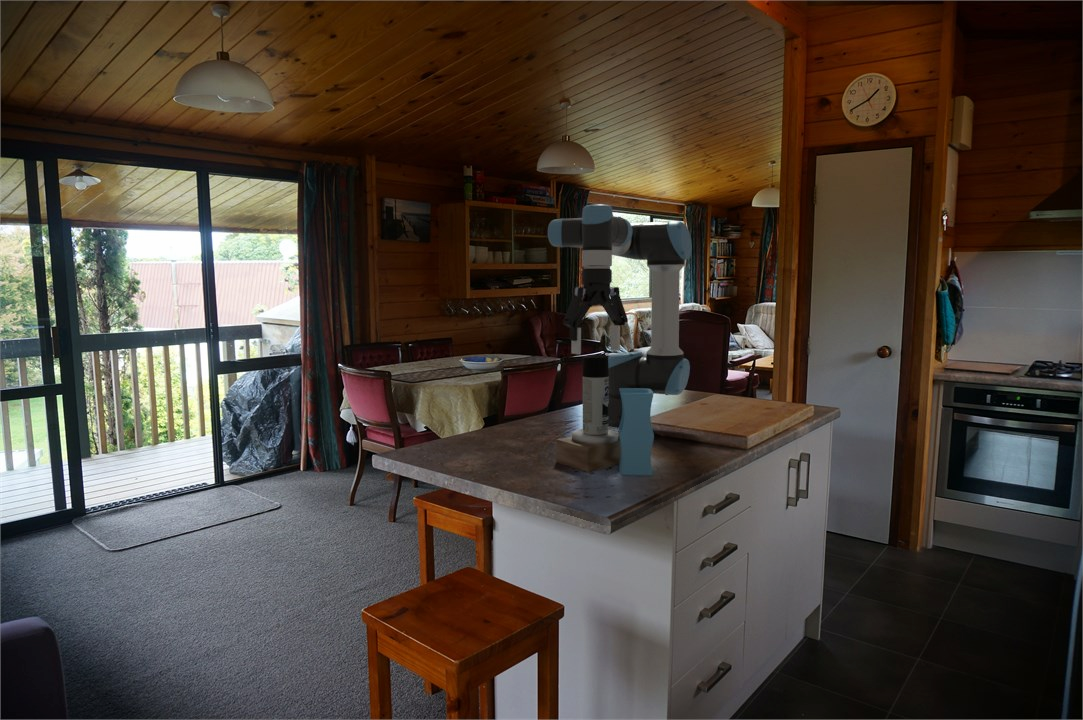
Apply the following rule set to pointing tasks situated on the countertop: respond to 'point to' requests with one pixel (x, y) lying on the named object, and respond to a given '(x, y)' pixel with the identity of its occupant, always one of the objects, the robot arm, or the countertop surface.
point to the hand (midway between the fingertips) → (596, 352)
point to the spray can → (595, 395)
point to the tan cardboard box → (589, 450)
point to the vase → (636, 432)
